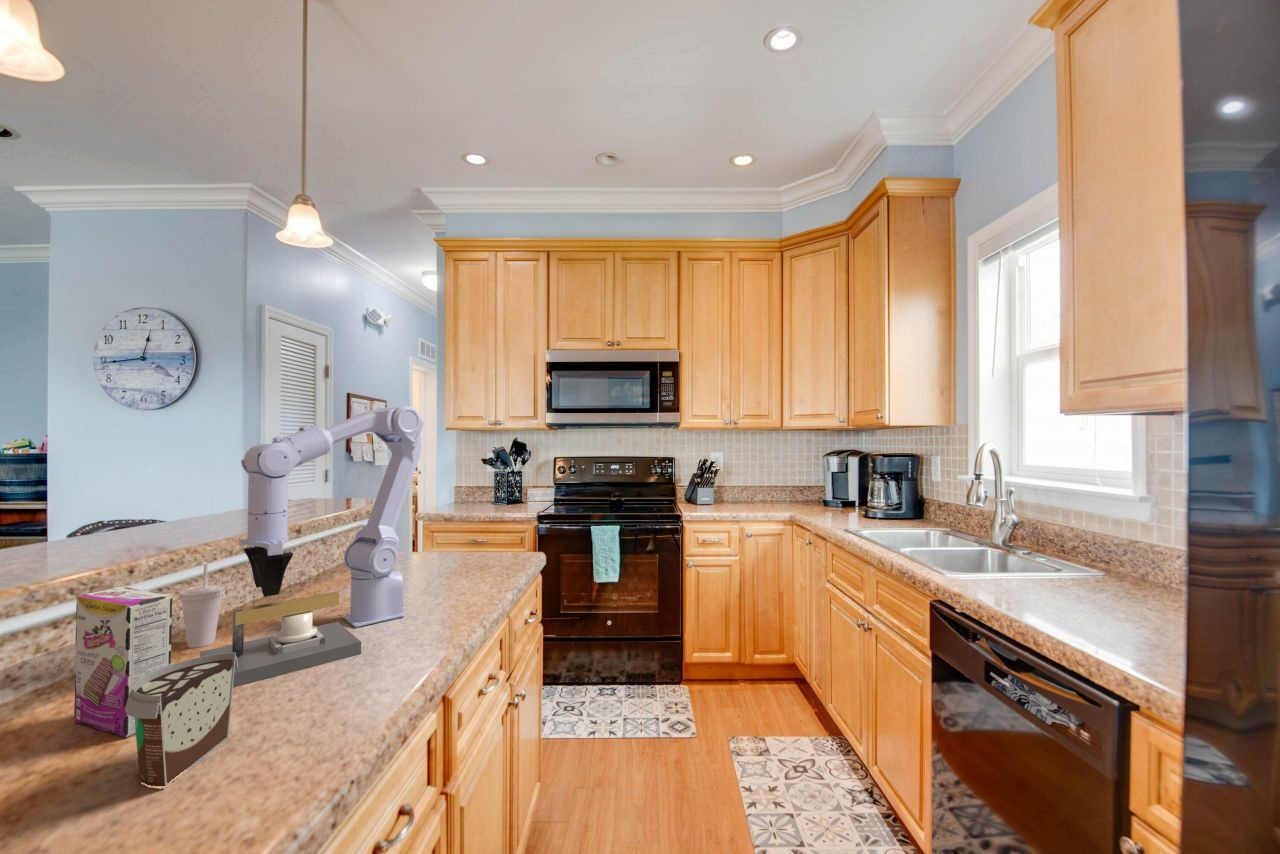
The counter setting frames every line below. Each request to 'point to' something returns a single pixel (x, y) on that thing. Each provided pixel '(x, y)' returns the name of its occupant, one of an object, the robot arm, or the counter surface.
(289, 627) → the plug
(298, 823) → the counter surface
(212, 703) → the food container
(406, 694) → the counter surface
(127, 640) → the candy bar box
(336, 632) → the socket block
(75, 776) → the counter surface
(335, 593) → the tan l-shaped bar
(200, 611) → the smoothie
